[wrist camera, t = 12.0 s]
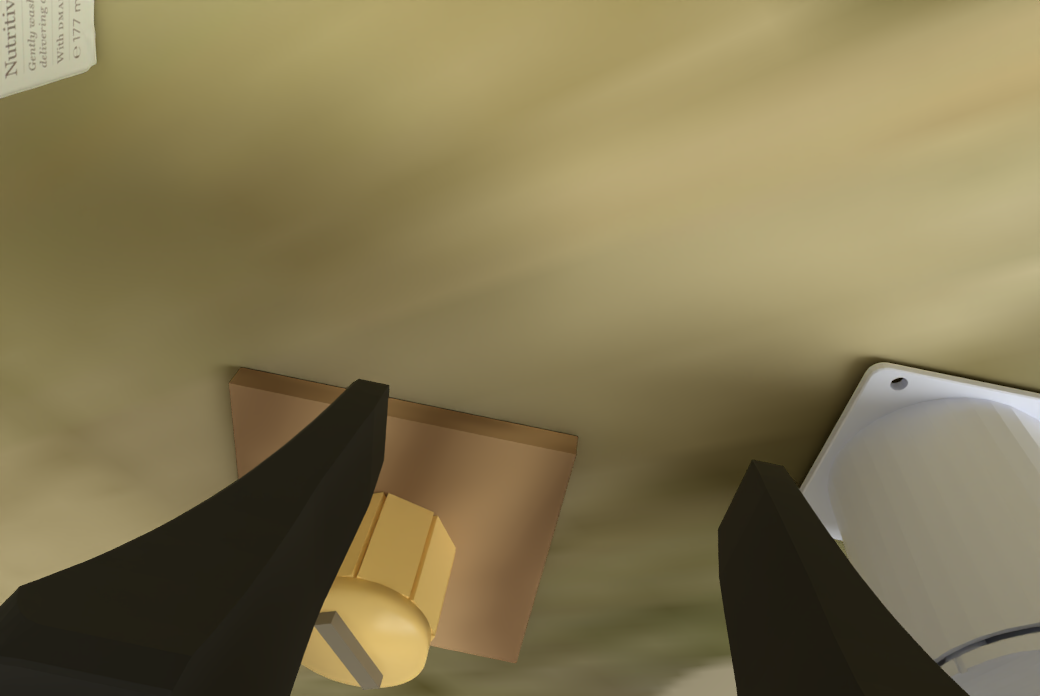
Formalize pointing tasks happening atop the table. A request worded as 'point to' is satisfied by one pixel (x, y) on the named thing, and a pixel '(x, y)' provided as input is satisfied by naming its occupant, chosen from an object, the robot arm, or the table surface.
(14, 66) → the skincare box
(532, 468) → the post board
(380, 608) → the cap
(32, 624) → the robot arm
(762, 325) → the table surface
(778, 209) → the table surface
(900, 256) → the table surface
